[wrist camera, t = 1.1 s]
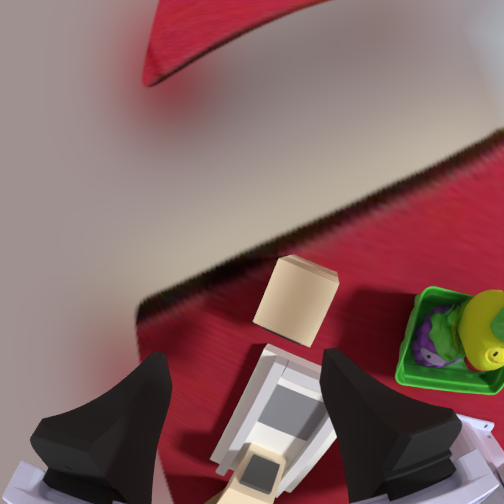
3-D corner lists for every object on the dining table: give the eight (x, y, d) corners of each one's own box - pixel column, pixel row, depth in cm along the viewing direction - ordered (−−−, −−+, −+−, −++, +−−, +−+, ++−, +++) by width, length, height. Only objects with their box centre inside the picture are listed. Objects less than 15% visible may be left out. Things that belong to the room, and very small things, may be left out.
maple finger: (336, 272, 23) (339, 283, 17) (313, 324, 24) (306, 353, 17) (293, 254, 24) (278, 258, 18) (271, 306, 25) (249, 328, 18)
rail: (366, 383, 23) (376, 438, 15) (292, 484, 25) (277, 536, 17) (267, 343, 25) (239, 385, 17) (214, 452, 27) (182, 497, 19)
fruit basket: (381, 359, 23) (407, 432, 12) (409, 262, 22) (467, 276, 11) (478, 373, 20) (531, 430, 9) (505, 287, 19) (579, 308, 8)
